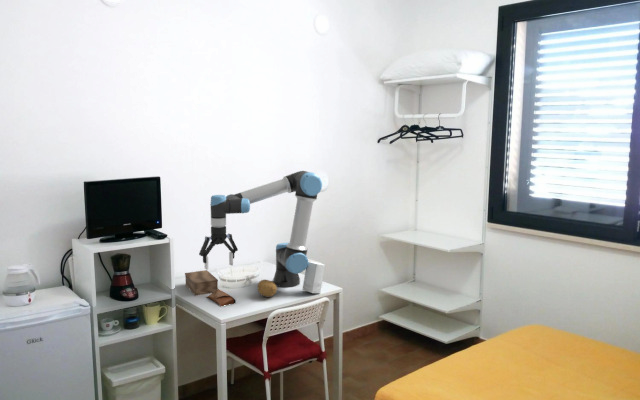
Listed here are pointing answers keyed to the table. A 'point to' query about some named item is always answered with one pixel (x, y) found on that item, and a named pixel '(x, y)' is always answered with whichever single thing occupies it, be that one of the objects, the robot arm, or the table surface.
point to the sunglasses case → (221, 298)
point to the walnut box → (201, 282)
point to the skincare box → (313, 277)
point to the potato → (267, 288)
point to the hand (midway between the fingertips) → (219, 267)
